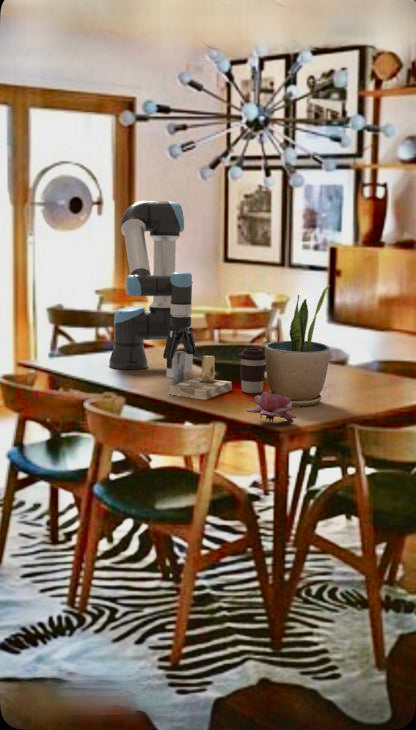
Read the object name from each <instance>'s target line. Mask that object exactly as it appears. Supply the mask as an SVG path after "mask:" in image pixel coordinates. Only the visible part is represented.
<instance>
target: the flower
mask: <svg viewBox="0 0 416 730" xmlns="http://www.w3.org/2000/svg"><path fill="white" fill-rule="evenodd" d="M271 393H272V392H271V391H270V392H269V391H262V392H261V395H259V394H258V395H254V397H253V400H254V403H255V405H257V406H256V408H255V407H254V408H246V412H248V413H252V414H253V413H255V414H259V415H260V418H262V416H266V417H265V421H267V420H269V422H270V423H272V424H274V418H275V417H276V418H282V419H285V420H286V421H288V422H289V424H290V425H291V424H293V423H294V422H295V421H294V420H293V419H296V418H297V416H296V415H293V414H291V413H288V411H292V410H293V409H294V408H295V407H292V403H290V404H289V402H290V401H291V399H290V398H288V397H286V396H285V397H284V396H281V395H278V394H271Z"/></svg>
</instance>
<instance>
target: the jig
mask: <svg viewBox="0 0 416 730" xmlns="http://www.w3.org/2000/svg"><path fill="white" fill-rule="evenodd" d="M201 381H202V377H194V378H192V379H188V380H185V382H182V383H178V384H175V385H173V384H172V385H170V386H169V388H168V389H169V394H171V395H170V396H173V395H177V396H176V397H181V396H183V397H182V398H189V397H190V399H197V400H199V399H200V400H204V401H205V400H209V399H211V398H214V397H216V396H219V395H222V394H224V393H228V392H230V391H231V392H232V389H233V386H232V385H233V381H228V380H218V379H214V383H213V384H207V383H201ZM169 394H168V395H169Z"/></svg>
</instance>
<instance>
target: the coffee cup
mask: <svg viewBox="0 0 416 730" xmlns="http://www.w3.org/2000/svg"><path fill="white" fill-rule="evenodd" d="M238 358H239V360H240V363H239V368H240V369H239V371H240V374H239V375H240V380H241V381H240V384H241V392H243V393H246V394H259V393H262V392H263V389H264V388H263V387H264V381H265V375H266V374H265V372H266V362H265V350H263V349H262V348H257V347H249V348H247V347H245V348H243V350H242V352H239V353H238Z"/></svg>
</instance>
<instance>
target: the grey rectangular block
mask: <svg viewBox="0 0 416 730" xmlns="http://www.w3.org/2000/svg"><path fill="white" fill-rule="evenodd" d="M186 354H187V353H186V350H185V351H183V350H176V352H175V355H174V357H173V359H174V378H173V379H172V383H173V384H172V385H175V384H178V383H182V382H185V381H186V376H187V375H186V373H187V372H186Z"/></svg>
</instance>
